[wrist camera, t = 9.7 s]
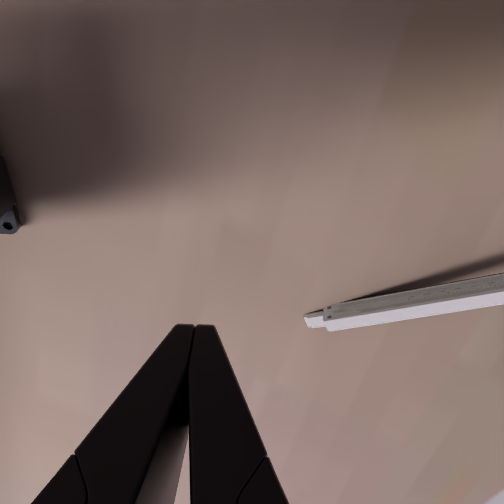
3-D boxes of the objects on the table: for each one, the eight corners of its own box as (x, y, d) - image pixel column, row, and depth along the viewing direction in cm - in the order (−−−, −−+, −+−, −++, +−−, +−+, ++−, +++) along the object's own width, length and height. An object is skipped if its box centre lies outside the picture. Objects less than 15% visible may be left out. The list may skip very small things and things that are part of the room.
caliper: (651, 200, 22) (777, 266, 17) (649, 216, 23) (770, 284, 18) (301, 311, 26) (316, 392, 21) (307, 322, 27) (322, 404, 22)
